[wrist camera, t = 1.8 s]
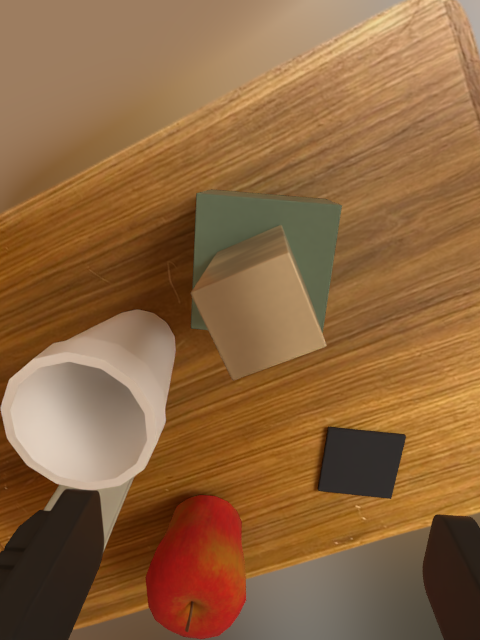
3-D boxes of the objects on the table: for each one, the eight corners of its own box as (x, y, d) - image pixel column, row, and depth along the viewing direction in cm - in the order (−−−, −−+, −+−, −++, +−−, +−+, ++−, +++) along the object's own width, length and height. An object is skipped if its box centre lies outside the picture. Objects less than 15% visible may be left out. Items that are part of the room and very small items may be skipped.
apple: (262, 534, 44) (260, 658, 32) (187, 553, 45) (161, 678, 34) (230, 468, 41) (217, 578, 30) (153, 491, 43) (113, 603, 31)
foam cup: (109, 273, 36) (26, 325, 23) (209, 319, 36) (180, 393, 24) (75, 365, 39) (-15, 454, 26) (168, 406, 39) (124, 511, 27)
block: (281, 224, 27) (289, 251, 17) (306, 288, 28) (327, 347, 18) (216, 252, 27) (189, 293, 18) (243, 313, 29) (232, 381, 19)
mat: (404, 434, 39) (406, 436, 38) (390, 495, 41) (391, 498, 41) (328, 426, 39) (328, 429, 39) (317, 488, 41) (318, 491, 41)
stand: (326, 199, 33) (342, 205, 26) (311, 310, 35) (321, 341, 29) (210, 189, 33) (196, 192, 26) (204, 300, 36) (190, 328, 29)
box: (88, 453, 42) (14, 568, 29) (100, 418, 40) (28, 523, 28) (138, 472, 42) (86, 594, 30) (152, 438, 41) (103, 551, 28)
